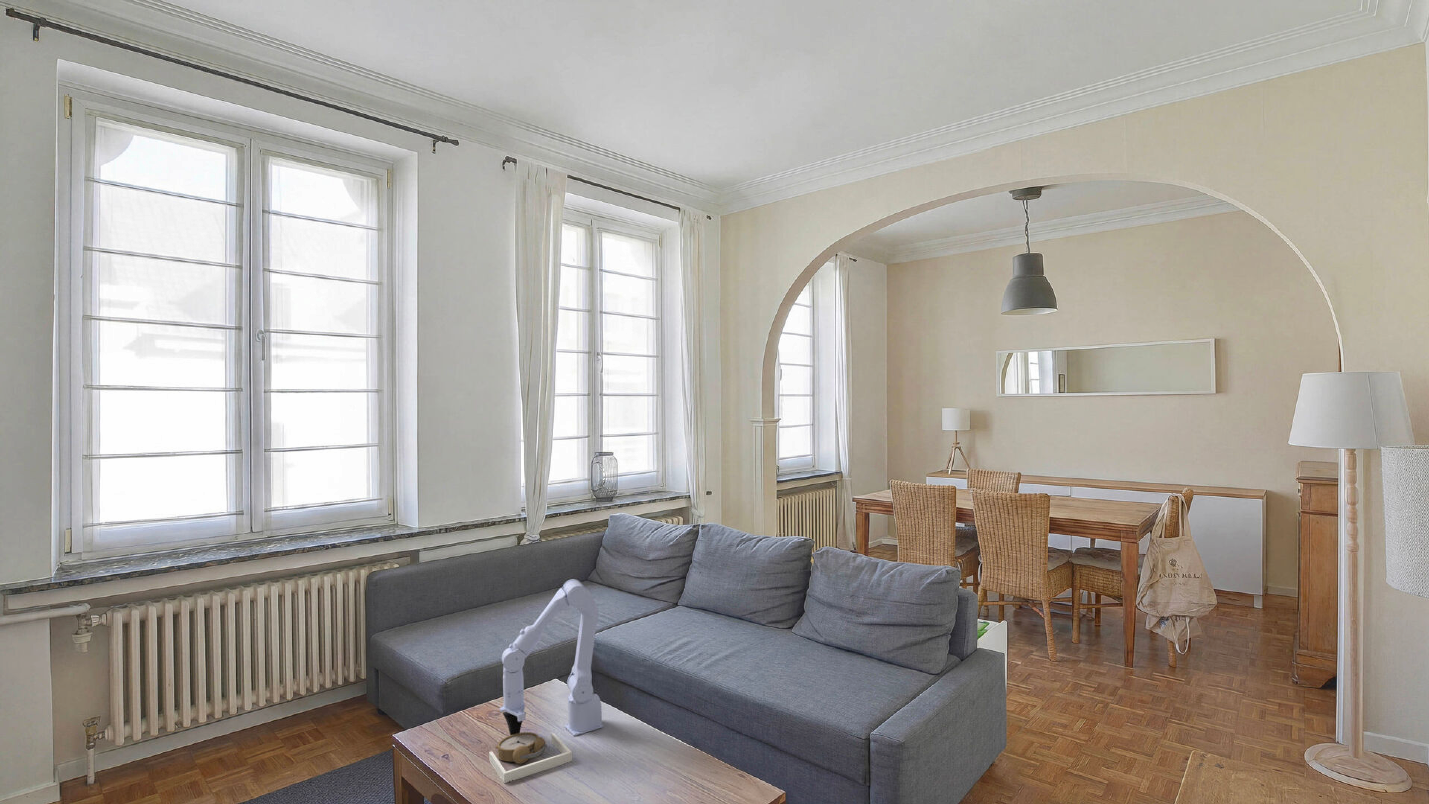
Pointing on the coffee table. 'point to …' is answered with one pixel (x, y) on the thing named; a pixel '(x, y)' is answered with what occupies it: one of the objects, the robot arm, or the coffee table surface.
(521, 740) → the alarm clock
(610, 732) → the coffee table surface
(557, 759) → the clock dock
